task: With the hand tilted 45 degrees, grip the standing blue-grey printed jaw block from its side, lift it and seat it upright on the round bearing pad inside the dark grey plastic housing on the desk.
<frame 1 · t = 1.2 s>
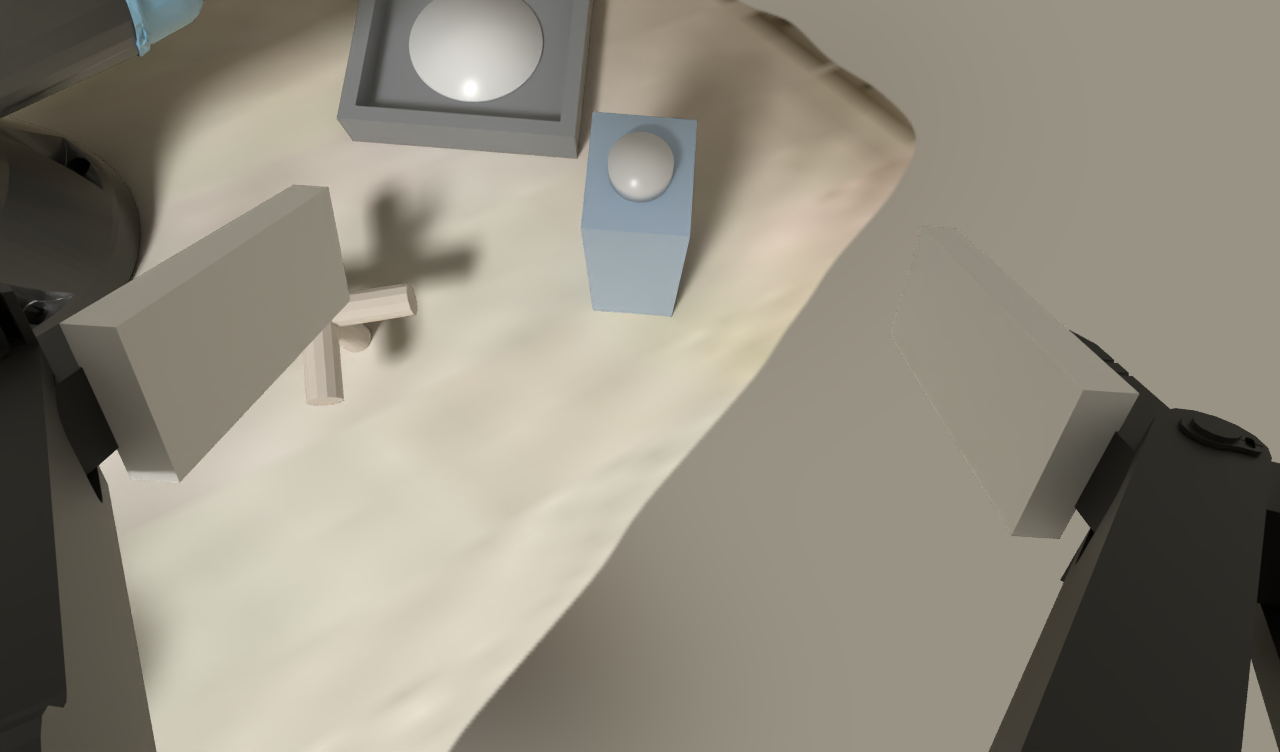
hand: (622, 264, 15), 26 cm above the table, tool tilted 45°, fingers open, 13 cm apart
housing: (479, 52, 46), on the table
pipe connector: (357, 339, 41), on the table
jaw block: (635, 269, 42), on the table
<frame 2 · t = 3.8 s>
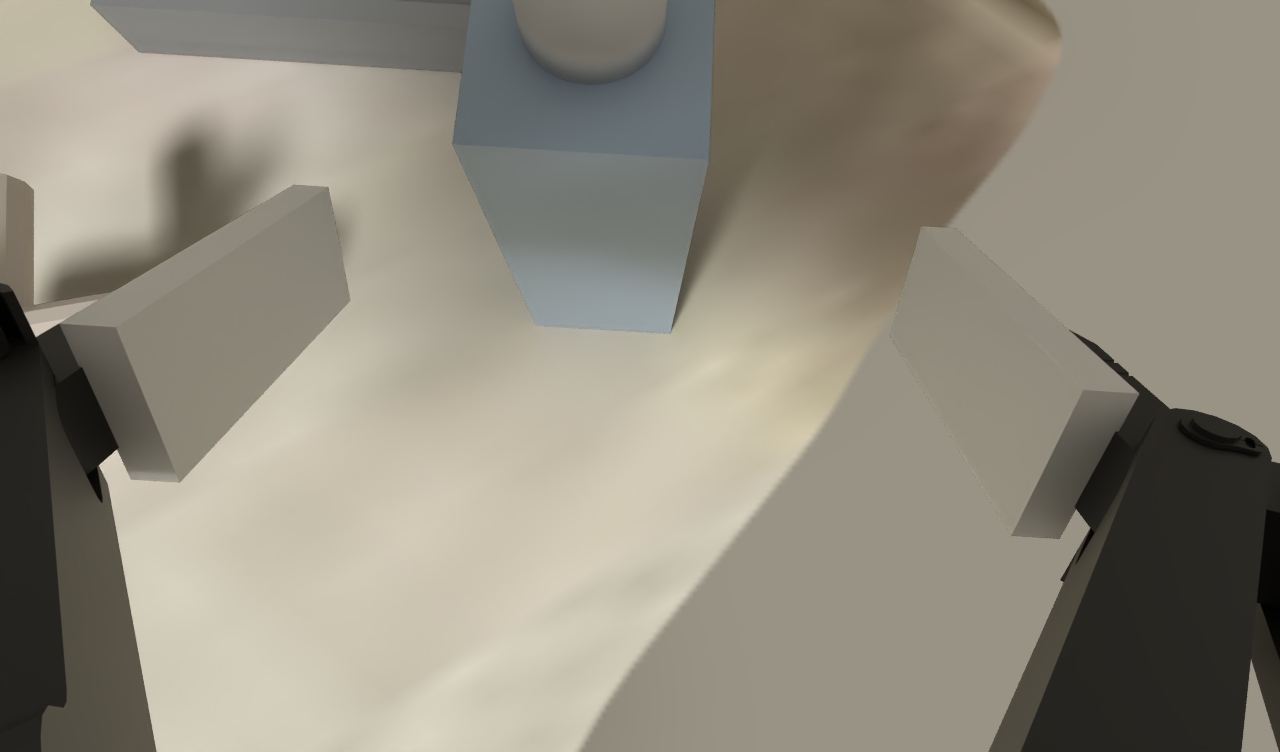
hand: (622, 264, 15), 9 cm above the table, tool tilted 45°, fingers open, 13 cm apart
pipe connector: (129, 382, 24), on the table
jaw block: (608, 254, 25), on the table
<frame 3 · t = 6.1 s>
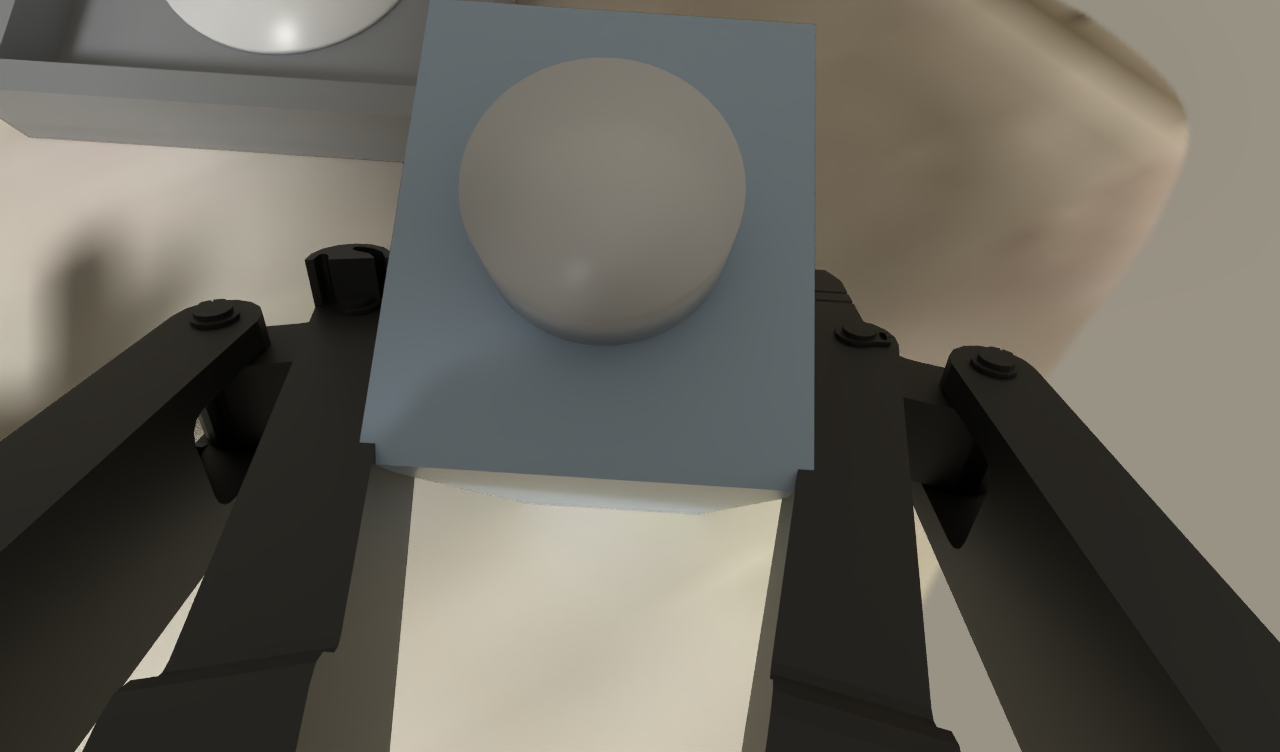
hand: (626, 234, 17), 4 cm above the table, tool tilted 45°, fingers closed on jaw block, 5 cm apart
jaw block: (618, 406, 20), on the table, touching gripper
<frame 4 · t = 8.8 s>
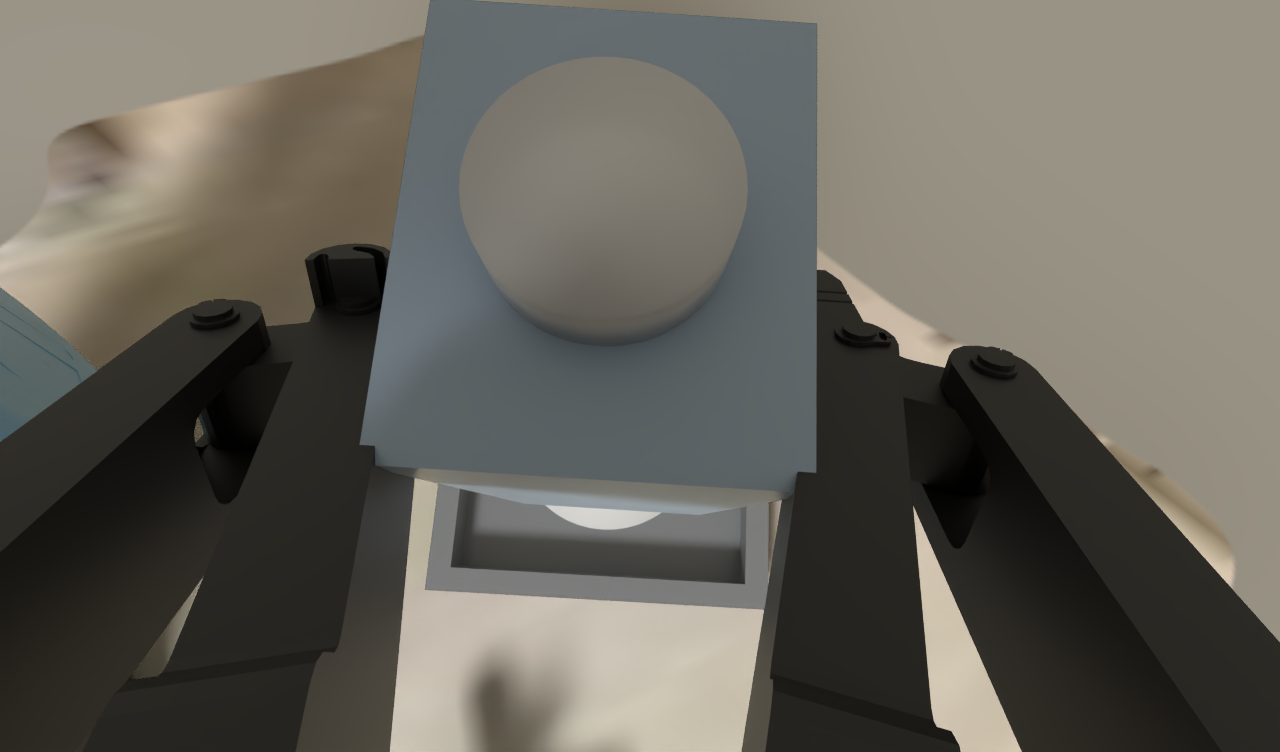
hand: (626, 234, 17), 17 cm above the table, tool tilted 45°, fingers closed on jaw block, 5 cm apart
housing: (609, 437, 33), on the table
jaw block: (619, 406, 20), point 14 cm above the table, touching gripper
when the fingers open (6 cm above the table, at t = 11.4 s): jaw block drops 1 cm, resting on housing.
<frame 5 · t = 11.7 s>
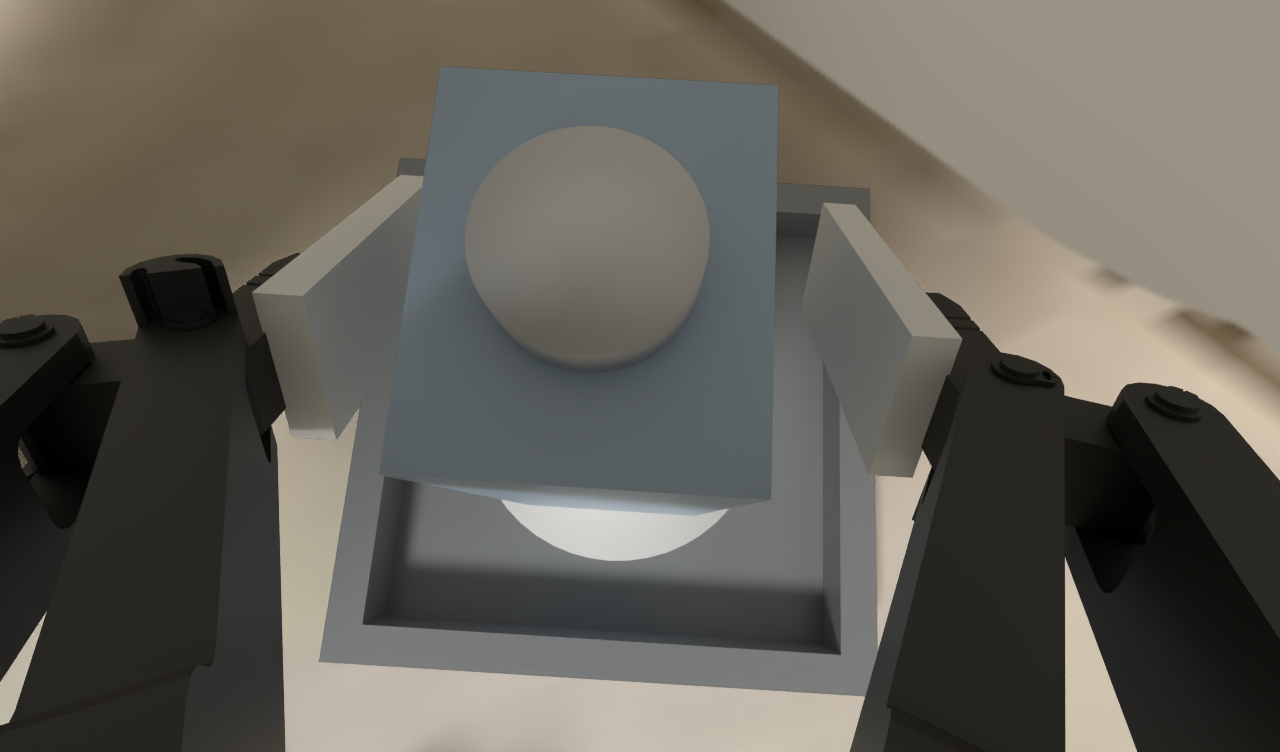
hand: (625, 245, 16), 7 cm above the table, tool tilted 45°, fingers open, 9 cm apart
housing: (619, 418, 22), on the table
jaw block: (618, 413, 21), point 1 cm above the table, touching housing
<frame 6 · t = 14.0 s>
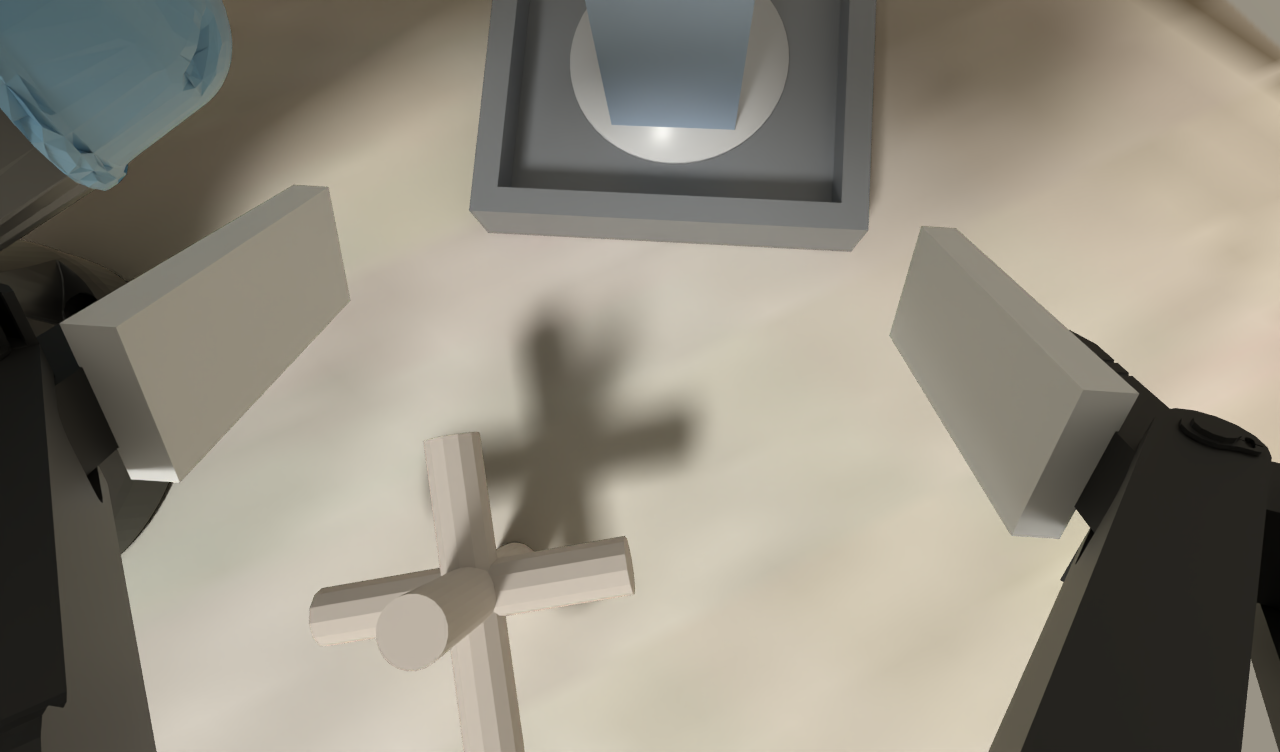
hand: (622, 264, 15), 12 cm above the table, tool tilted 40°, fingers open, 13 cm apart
housing: (678, 72, 28), on the table
pipe connector: (516, 565, 26), on the table
jaw block: (677, 58, 27), point 1 cm above the table, touching housing
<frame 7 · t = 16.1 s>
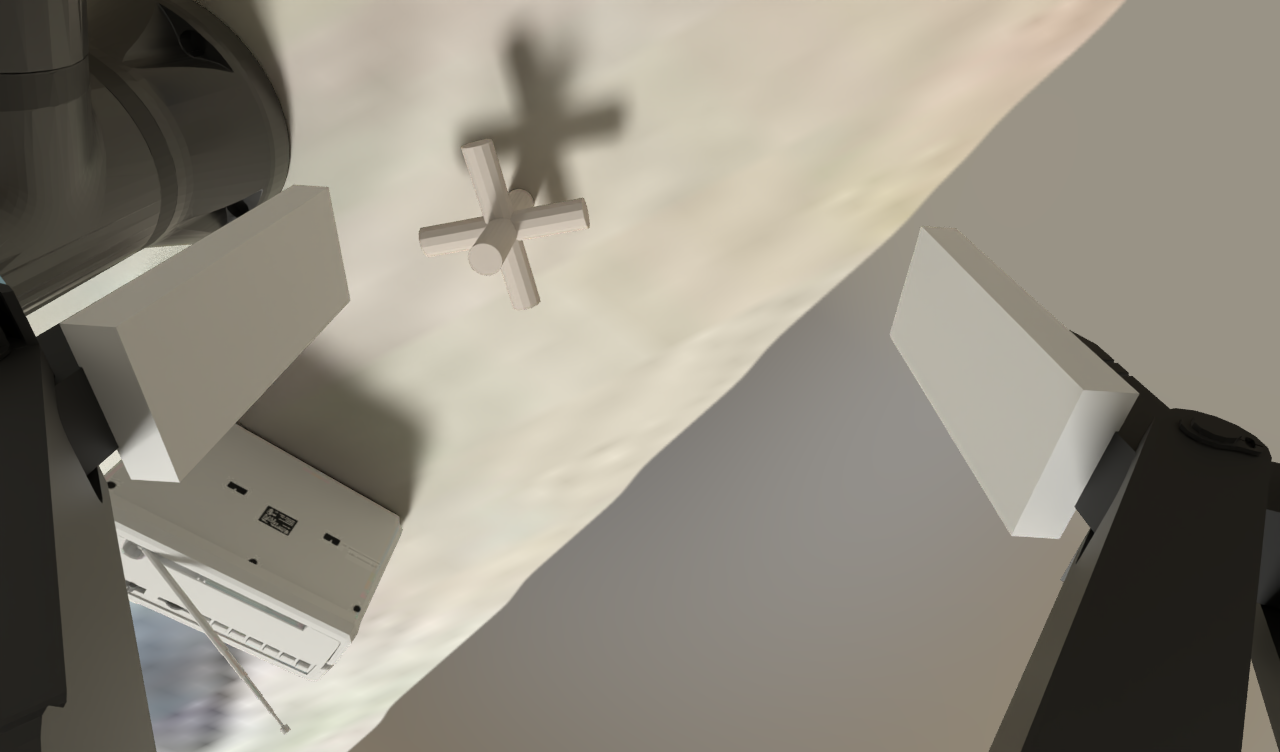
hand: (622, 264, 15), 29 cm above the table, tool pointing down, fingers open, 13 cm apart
pipe connector: (520, 201, 44), on the table
stereo radio cassette player: (292, 479, 58), on the table
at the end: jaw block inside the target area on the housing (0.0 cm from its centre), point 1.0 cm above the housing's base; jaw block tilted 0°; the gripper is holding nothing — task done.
